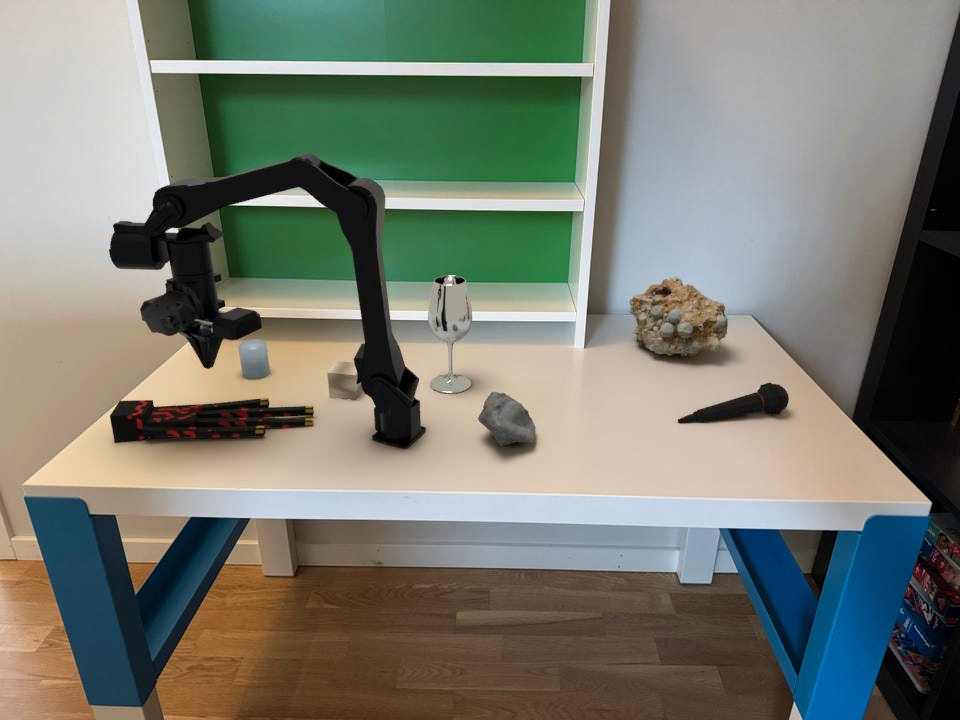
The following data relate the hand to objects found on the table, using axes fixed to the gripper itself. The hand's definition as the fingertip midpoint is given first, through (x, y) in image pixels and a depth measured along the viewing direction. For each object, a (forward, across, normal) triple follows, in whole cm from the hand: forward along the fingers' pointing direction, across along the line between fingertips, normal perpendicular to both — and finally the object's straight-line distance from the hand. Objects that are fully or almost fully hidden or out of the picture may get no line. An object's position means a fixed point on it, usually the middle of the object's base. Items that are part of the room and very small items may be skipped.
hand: (208, 367), depth 106 cm
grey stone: (+11, +43, +17) cm, 48 cm away
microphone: (+11, +74, +42) cm, 86 cm away
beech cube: (+11, +11, +20) cm, 25 cm away
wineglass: (+11, +26, +31) cm, 42 cm away
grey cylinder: (+11, -9, +19) cm, 24 cm away
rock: (+11, +60, +66) cm, 90 cm away
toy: (+12, 0, 0) cm, 12 cm away
